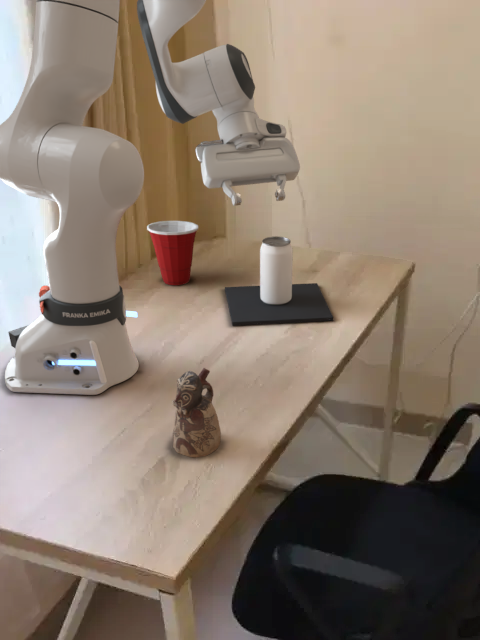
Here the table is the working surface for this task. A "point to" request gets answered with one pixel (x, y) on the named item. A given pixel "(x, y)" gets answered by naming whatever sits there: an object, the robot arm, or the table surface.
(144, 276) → the table surface
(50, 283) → the robot arm
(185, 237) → the plastic cup
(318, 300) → the desk mat
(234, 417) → the table surface
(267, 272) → the can
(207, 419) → the figurine
